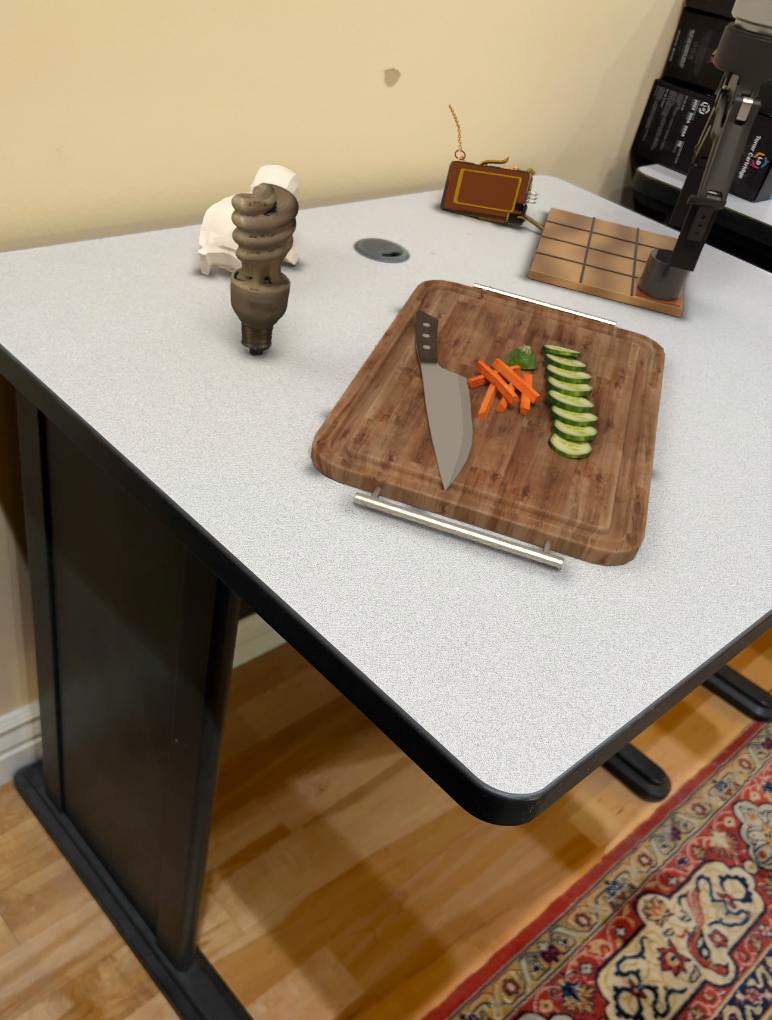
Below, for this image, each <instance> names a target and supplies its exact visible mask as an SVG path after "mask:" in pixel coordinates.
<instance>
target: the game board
mask: <svg viewBox="0 0 772 1020" xmlns="http://www.w3.org/2000/svg"><path fill="white" fill-rule="evenodd" d="M543 227H544V228H545V229H544V230H543V231H542V232H541V236H540V238H539V242H538V245H537V248H536V250H535V254H534V257H533V260H532V263H531V266H530V269H529V271H528V274H527V279H530V280H534V281H537V282H541V283H545V284H549V285H553V286H557V287H561V288H565V289H569V290H573V291H576V292H579V293H584V294H588V295H591V296H595V297H600V298H604V299H607V300H611V301H615V302H619V303H623V304H627V305H631V306H635V307H639V308H642V309H647V310H649V311H654V312H658V313H662V314H666V315H670V316H674V317H676V318H677V317H678V318H681V316H682V314H683V312H684V289H683V290H682V293H681V295H680V297H679V298H678V299H677V300H673V301H666V300H660V299H656V298H653V297H650V296H648V295H646V294H644V293H643V292H641V291H640V290H639V289H638V287H637V284H638V282H639V279H640V277H641V274H642V272H643V269H644V267H645V264H646V262H647V259H648V256H649V254H650V252H651V251H652V250H654V249H667V250H672V251H673V249H674V247H675V244H676V242H677V239H678V237H673V236H669V235H665V234H661V233H657V232H652V231H649V230H645V229H641V228H640V227H632V226H629V225H624V224H620V223H616V222H613V221H608V220H605V219H600V218H597V217H596V216H593V217H592V216H589V215H583V214H579V213H575V212H571V211H568V210H564V209H560V208H555V207H552V206H551V207H550V208H549V212H548V214H547V218H546V221H545V224H544V226H543Z"/></svg>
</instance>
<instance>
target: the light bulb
mask: <svg viewBox="0 0 772 1020" xmlns="http://www.w3.org/2000/svg"><path fill="white" fill-rule="evenodd" d="M238 193H239V194H237V193H235V194H236V195H235V194H233V195H234V196H233V195H232V196H233V197H232V200H231V204H232V206H233V208H234V209H235V210H234V212H233V213H232V216H231V219H232V222H233V224H234V225H235V226H236V228H235V229H234V231H233V233H232V238H233V240H234V241H235V242H236V243H237V244H238V248H237V250H236V257H237V258H238V260H240V261H241V263H242V267H241V268H239V269H236V270H235V271H234V272H233V273H232V272H231V275H230V283H229V284H230V285H229V286H230V287H229V288H230V294H229V295H230V305H231V309H232V310H233V312H234V313H235V315H236V316H237V318H238V321H240V330H241V340H240V344H241V345H242V346H243V347H244V348H246V349H248V351H249V354H250V355H252V356H262V355H263V354H264V352H265V351H269V349H271V347H272V344H273V341H272V340H273V331H274V326H275V325H276V324H277V323H278V322H279V321H280V320H281V319H282V318H283V317H284V316H285V314H286V312H287V309H288V305H289V297H290V292H291V280H290V278H289V277H288V276H287V275H286V274H285V273H283V272H282V264H283V262H284V258H285V257H286V256H287V254H288V252H289V251H290V250H291V248H292V246H294V236H293V235H294V233H295V232H296V229H297V219H296V218H297V216H298V214H299V208H300V204H299V200H298V201H297V199H296V198H295V196H294V195H293V194H292V193H291V192H290V191H288V190H287V189H285V188H283V187H280V186H278V185H274V184H268V183H261V184H259V185H258V186H255V187H254V189H253V193H252V194H251V193H247V192H238Z"/></svg>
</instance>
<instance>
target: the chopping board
mask: <svg viewBox="0 0 772 1020" xmlns="http://www.w3.org/2000/svg"><path fill="white" fill-rule="evenodd" d="M665 359H666V352H665V350H664V347H662V346H661V344H659V342H657V341H656V340H654V339H652V338H650V337H649V336H648V335H644V334H641V333H638V332H636V331H632V330H628V329H625V328H622V327H617V321H615V320H612V319H608V318H605V317H602V316H601V317H600V316H597V315H593V314H589V313H587V312H583V311H579V310H575V309H572V308H568V307H564V306H560V305H558V304H553V303H550V302H546V301H542V300H539V299H535V298H532V297H528V296H525V295H521V294H517V293H513V292H511V291H506V290H503V289H500V288H495V287H492V286H488V285H485V284H481V283H477V282H474V283H473V285H472V286H470V285H467V284H463V283H460V282H456V281H452V280H451V281H450V280H446V279H428V280H423V281H421V282H420V283H419V284H418V285H417V286H416V287H415V289H414V290H413V292H412V293H411V294H410V295H409V297H408V299H407V300H406V302H405V303H404V305H403V306H402V307H401V309H400V310H399V312H398V314H397V315H396V316H395V318H394V319H393V320H392V322H391V323H390V325H389V326H388V328H387V329H386V331H385V332H384V334H383V335H382V336H381V338H380V340H379V341H378V343H377V344H376V345H375V347H374V348H373V350H372V351H371V353H370V354H369V355H368V357H367V359H366V360H365V361H364V363H363V364H362V366H361V367H360V369H359V370H358V372H357V373H356V375H355V376H354V377H353V379H352V380H351V382H350V383H349V384H348V386H347V388H346V389H345V391H344V392H343V393H342V395H341V396H340V398H339V399H338V401H337V402H336V403H335V405H334V406H333V408H332V410H331V411H330V412H329V414H328V415H327V416H326V418H325V420H324V421H323V423H321V425H320V427H319V428H318V430H317V431H316V433H315V434H314V438H313V440H312V444H311V451H310V459H311V461H312V464H313V466H314V468H315V469H316V470H317V471H319V473H321V474H322V475H323V476H325V477H326V478H329V479H330V480H334V481H336V482H337V483H341V484H344V485H346V486H350V487H352V488H356V489H359V490H362V491H365V492H369V493H371V495H368V494H364V493H360V492H358V491H357V492H356V493H354V497H353V503H355V504H357V505H361V506H364V507H367V508H370V509H374V510H376V511H380V512H382V513H386V514H389V515H392V516H395V517H398V518H401V519H404V520H408V521H411V522H414V523H417V524H420V525H423V526H426V527H430V528H433V529H436V530H439V531H442V532H445V533H447V534H450V535H451V534H452V535H454V536H458V537H461V538H464V539H467V540H470V541H473V542H476V543H479V544H483V545H485V546H489V547H492V548H494V549H498V550H501V551H504V552H508V553H511V554H514V555H517V556H520V557H522V558H526V559H529V560H533V561H535V562H538V563H541V564H544V565H546V566H547V565H548V566H551V567H554V568H557V569H561V568H562V567H563V565H564V563H565V558H564V557H562V556H559V555H555V554H552V553H551V551H553V552H557V553H560V554H564V555H566V556H570V557H573V558H576V559H578V560H582V561H584V562H589V563H593V564H596V565H602V566H607V567H609V566H622V565H623V566H624V565H625V564H627V563H629V562H631V561H634V559H635V558H636V555H638V552H639V550H640V548H641V546H642V544H643V542H644V540H645V537H646V528H647V518H648V511H649V502H650V494H651V493H650V492H651V484H652V476H653V466H654V458H655V457H654V456H655V449H656V440H657V431H658V430H657V429H658V421H659V412H660V405H661V404H660V403H661V396H662V395H661V393H662V385H663V377H664V370H665V369H664V368H665ZM380 496H381V497H383V498H388V499H391V500H395V501H397V502H401V503H404V504H406V505H409V506H412V507H416V508H419V509H422V510H426V511H429V512H432V513H435V514H438V515H441V516H444V517H447V518H451V519H453V520H457V521H460V522H463V523H466V524H469V525H472V526H475V527H478V528H481V529H485V530H487V531H491V532H494V533H497V534H500V535H503V536H507V537H510V538H513V539H516V540H519V541H523V542H525V543H528V544H532V545H535V546H538V547H541V548H542V550H540V549H537V548H533V547H531V546H527V545H524V544H521V543H518V542H515V541H511V540H508V539H505V538H503V537H499V536H496V535H493V534H489V533H486V532H484V531H480V530H477V529H474V528H471V527H467V526H465V525H461V524H458V523H455V522H452V521H450V520H446V519H443V518H440V517H436V516H433V515H431V514H427V513H424V512H421V511H417V510H415V509H411V508H408V507H406V506H403V505H398V504H395V503H393V502H389V501H386V500H384V499H381V498H379V497H380Z"/></svg>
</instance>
